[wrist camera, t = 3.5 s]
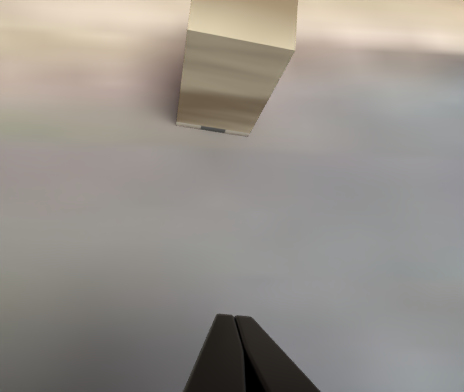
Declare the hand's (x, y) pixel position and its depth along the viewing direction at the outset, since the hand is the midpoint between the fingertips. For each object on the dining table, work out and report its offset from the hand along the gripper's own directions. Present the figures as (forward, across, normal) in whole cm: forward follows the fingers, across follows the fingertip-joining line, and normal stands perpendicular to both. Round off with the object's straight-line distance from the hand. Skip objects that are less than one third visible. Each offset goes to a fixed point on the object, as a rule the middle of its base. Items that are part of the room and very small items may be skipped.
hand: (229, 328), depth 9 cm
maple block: (+19, 0, 0) cm, 19 cm away
